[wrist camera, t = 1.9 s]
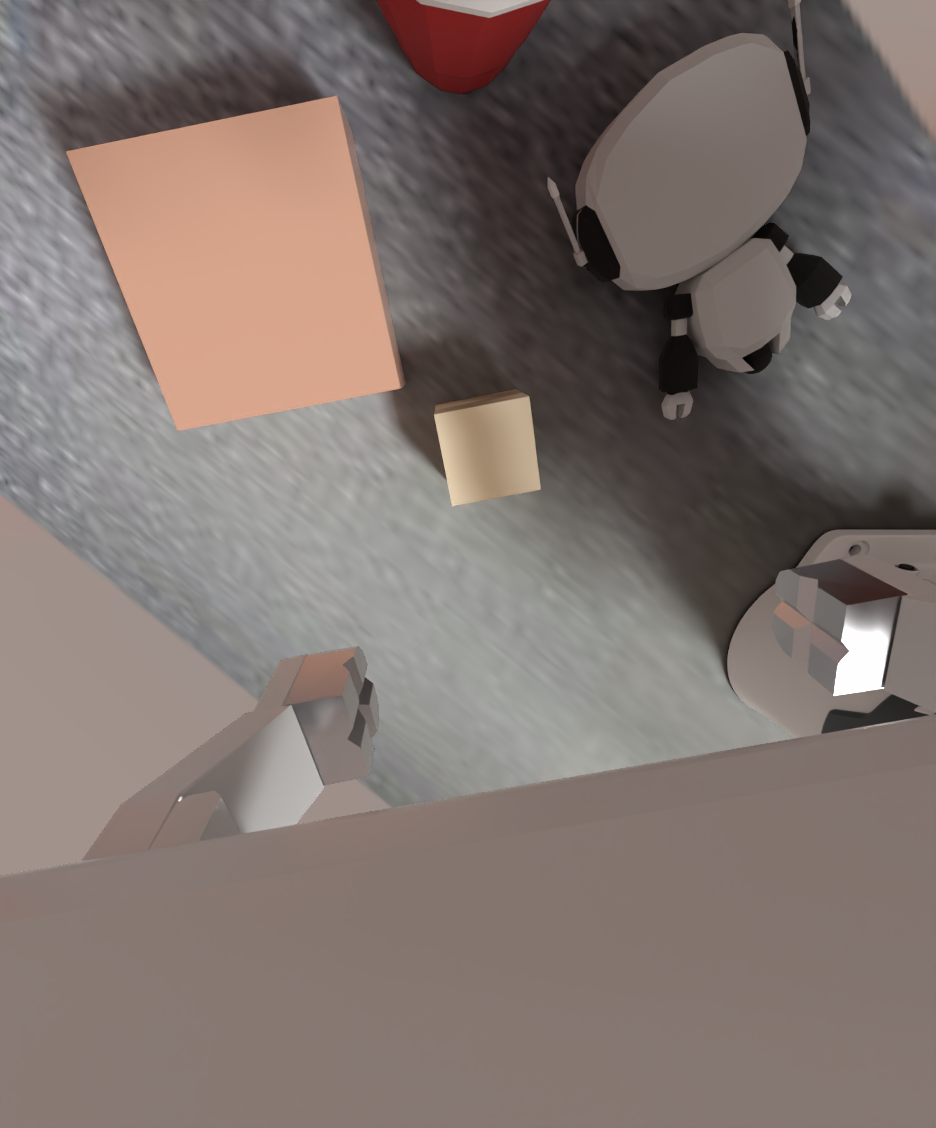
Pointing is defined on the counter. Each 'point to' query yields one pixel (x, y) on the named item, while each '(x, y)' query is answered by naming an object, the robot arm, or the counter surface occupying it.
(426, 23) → the plastic cup
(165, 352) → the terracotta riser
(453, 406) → the maple cube
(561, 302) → the counter surface
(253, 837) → the robot arm
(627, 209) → the robot toy
